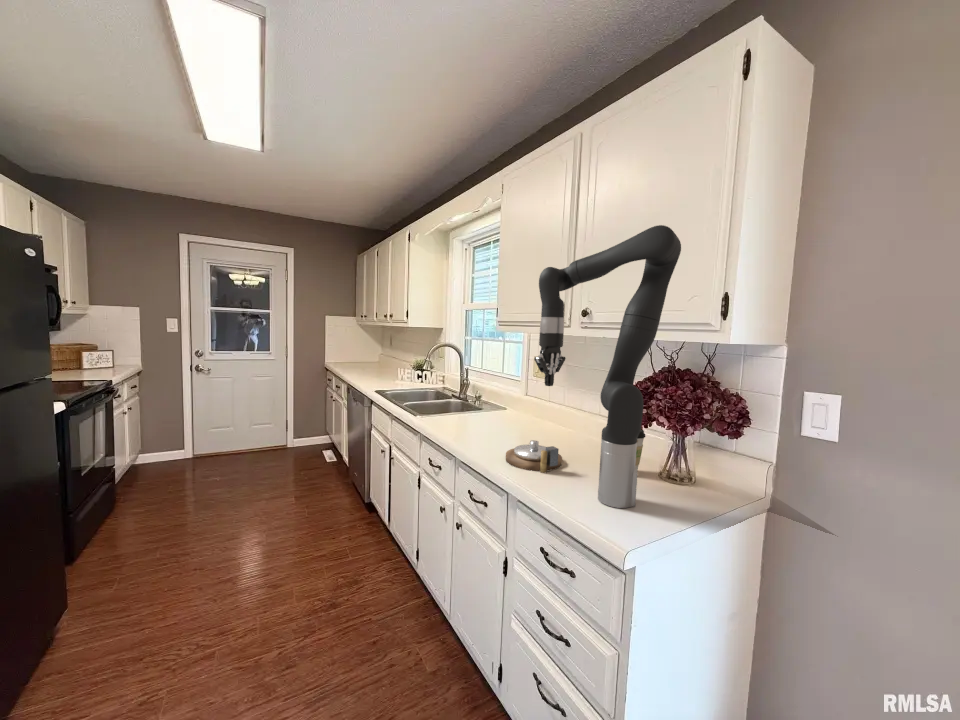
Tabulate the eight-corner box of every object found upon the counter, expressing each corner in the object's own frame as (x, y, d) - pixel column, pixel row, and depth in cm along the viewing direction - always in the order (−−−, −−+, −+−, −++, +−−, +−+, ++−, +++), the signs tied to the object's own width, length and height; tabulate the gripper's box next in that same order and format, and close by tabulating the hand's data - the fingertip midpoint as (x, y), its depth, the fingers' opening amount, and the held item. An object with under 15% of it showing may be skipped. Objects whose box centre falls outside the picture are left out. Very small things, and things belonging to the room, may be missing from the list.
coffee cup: (615, 476, 128) (618, 431, 127) (608, 466, 138) (611, 424, 136) (646, 479, 127) (649, 433, 126) (638, 468, 136) (641, 426, 135)
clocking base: (558, 453, 150) (559, 435, 149) (566, 474, 128) (567, 453, 128) (506, 450, 151) (506, 432, 151) (504, 470, 130) (505, 449, 129)
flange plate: (507, 450, 144) (507, 435, 144) (539, 447, 150) (540, 432, 149) (535, 468, 126) (536, 451, 126) (571, 463, 132) (572, 447, 131)
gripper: (556, 332, 132) (553, 383, 133) (528, 331, 124) (526, 385, 125) (574, 332, 126) (571, 386, 127) (546, 331, 118) (543, 388, 119)
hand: (548, 385), depth 126 cm, fingers closed
